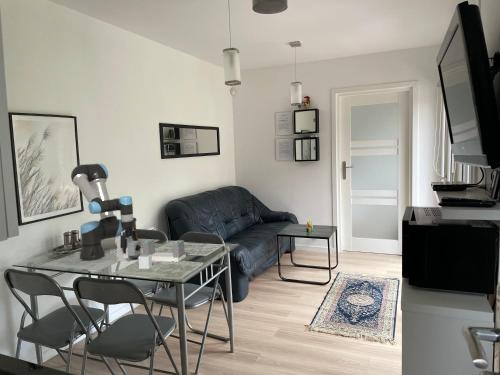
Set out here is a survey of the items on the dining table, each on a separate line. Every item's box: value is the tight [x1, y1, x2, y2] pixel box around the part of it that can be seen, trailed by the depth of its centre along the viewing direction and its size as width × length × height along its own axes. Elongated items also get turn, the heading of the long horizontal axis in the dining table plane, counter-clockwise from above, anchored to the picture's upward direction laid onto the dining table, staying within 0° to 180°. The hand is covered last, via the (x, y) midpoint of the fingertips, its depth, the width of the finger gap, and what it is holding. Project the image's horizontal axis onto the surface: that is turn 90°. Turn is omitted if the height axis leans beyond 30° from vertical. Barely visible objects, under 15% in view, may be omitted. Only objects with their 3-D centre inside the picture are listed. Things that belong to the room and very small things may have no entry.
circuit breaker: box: [114, 236, 142, 262], centre depth 242 cm, size 8×14×15 cm, turn 78°
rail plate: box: [141, 238, 187, 263], centre depth 242 cm, size 25×11×12 cm, turn 74°
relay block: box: [138, 253, 153, 270], centre depth 225 cm, size 6×5×8 cm
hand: (129, 256), depth 243 cm, fingers closed on circuit breaker, 8 cm apart
